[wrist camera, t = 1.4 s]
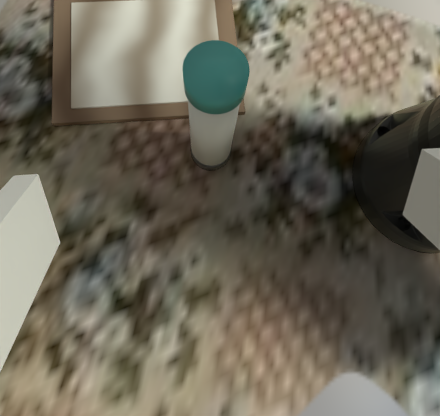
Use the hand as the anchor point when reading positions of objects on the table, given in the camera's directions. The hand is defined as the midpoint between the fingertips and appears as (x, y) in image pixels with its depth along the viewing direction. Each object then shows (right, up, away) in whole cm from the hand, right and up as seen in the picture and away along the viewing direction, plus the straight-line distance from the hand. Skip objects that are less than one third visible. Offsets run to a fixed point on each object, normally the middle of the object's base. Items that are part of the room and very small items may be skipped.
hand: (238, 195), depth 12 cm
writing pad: (-9, +17, +26) cm, 33 cm away
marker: (-2, +6, +24) cm, 25 cm away
